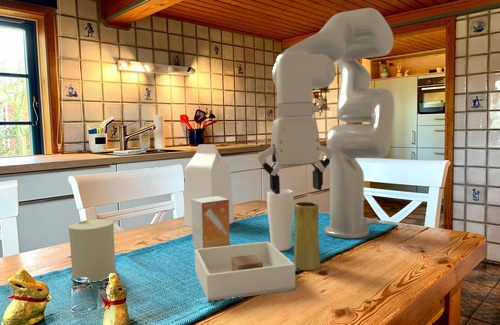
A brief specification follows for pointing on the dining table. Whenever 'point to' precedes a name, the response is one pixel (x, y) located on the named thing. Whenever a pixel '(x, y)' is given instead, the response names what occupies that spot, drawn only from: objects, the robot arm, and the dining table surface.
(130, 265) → the dining table surface
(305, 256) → the vase
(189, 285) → the dining table surface
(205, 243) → the small box
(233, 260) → the walnut cube
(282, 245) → the drinking glass
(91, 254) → the can
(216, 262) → the box
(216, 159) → the milk
